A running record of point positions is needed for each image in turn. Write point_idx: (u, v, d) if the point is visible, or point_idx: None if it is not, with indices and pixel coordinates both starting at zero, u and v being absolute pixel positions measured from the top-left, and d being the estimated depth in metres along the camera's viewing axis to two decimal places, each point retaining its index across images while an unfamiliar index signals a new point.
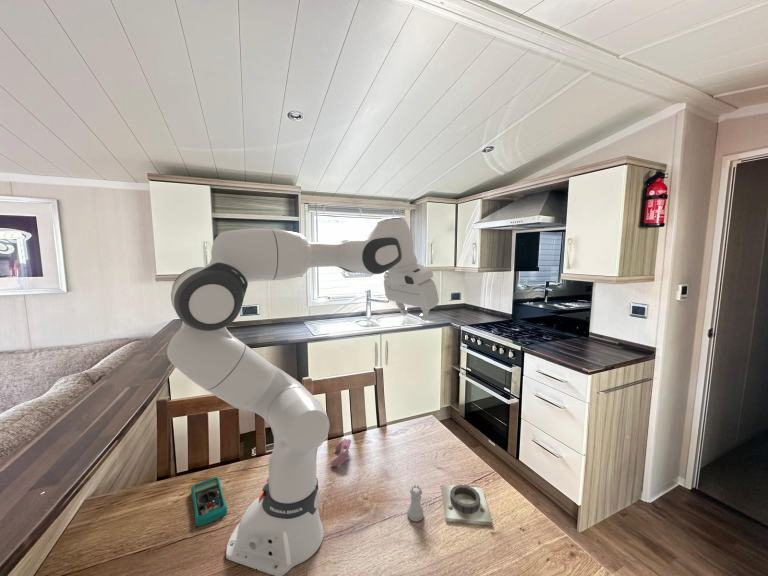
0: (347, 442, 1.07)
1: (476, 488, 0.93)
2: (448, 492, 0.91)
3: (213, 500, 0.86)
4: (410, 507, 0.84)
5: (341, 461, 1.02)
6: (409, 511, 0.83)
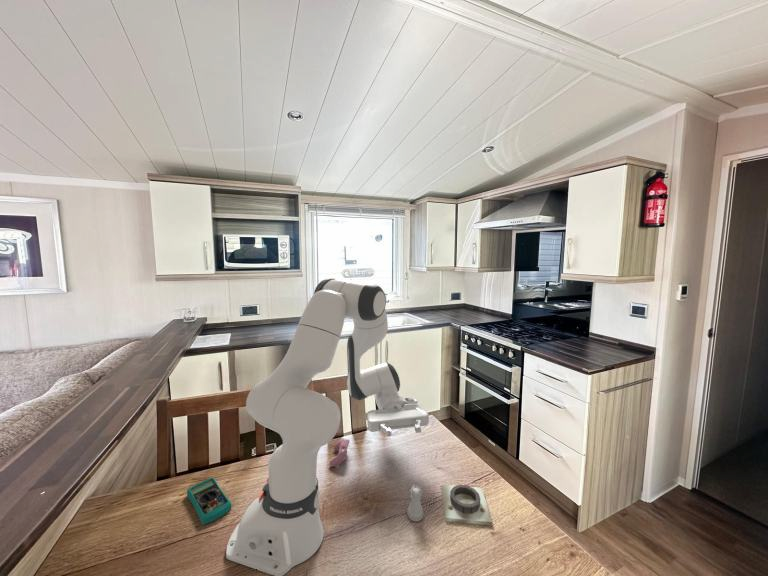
0: (345, 442, 1.07)
1: (476, 488, 0.93)
2: (448, 492, 0.91)
3: (215, 498, 0.86)
4: (410, 507, 0.84)
5: (339, 461, 1.02)
6: (409, 511, 0.83)
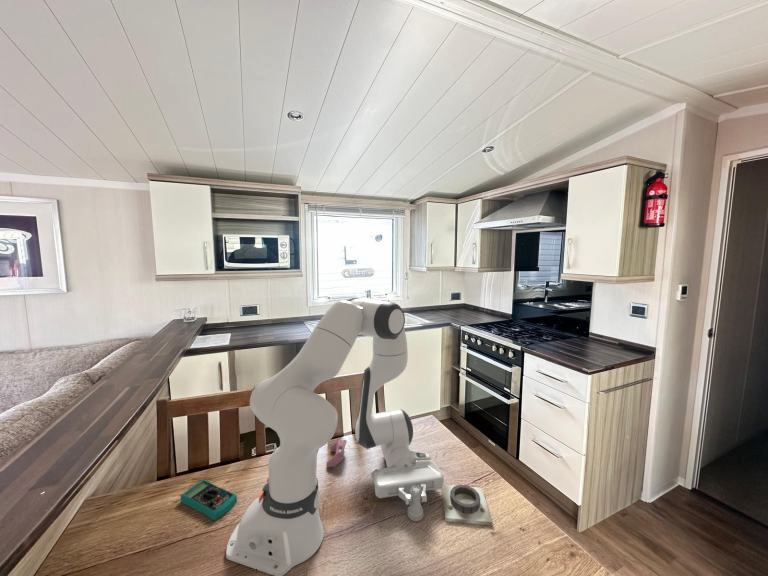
0: (342, 442, 1.07)
1: (476, 488, 0.93)
2: (448, 492, 0.91)
3: (218, 495, 0.87)
4: (410, 507, 0.84)
5: (337, 461, 1.02)
6: (409, 511, 0.83)
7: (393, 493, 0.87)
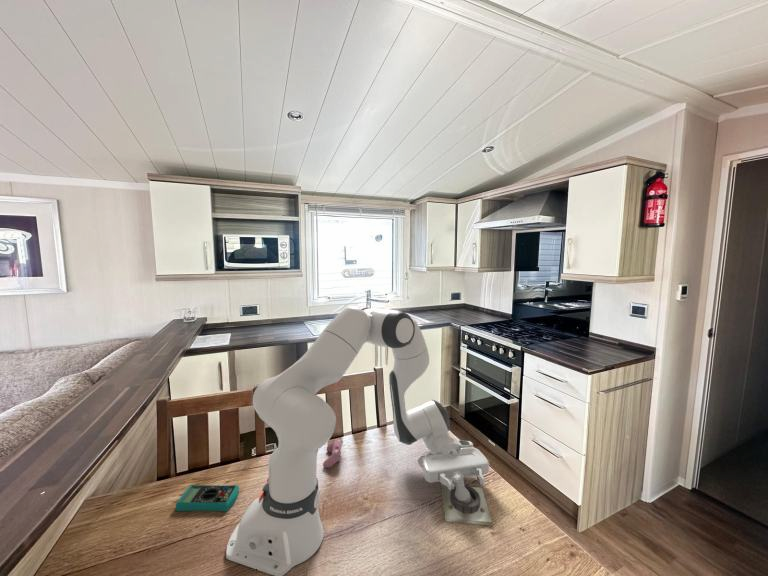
0: (339, 443, 1.07)
1: (476, 488, 0.93)
2: (448, 492, 0.91)
3: (219, 491, 0.89)
4: (456, 493, 0.87)
5: (333, 462, 1.02)
6: (456, 497, 0.87)
7: None
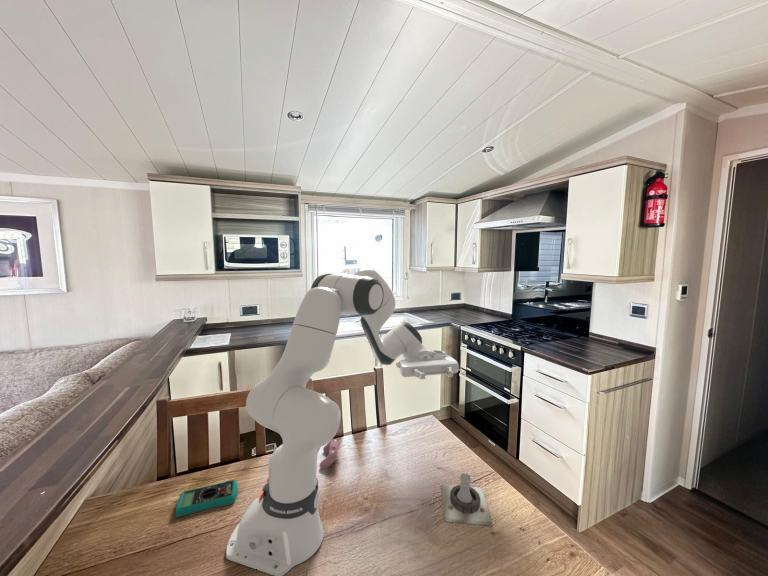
0: (335, 443, 1.06)
1: (476, 488, 0.93)
2: (448, 492, 0.91)
3: (218, 489, 0.90)
4: (460, 494, 0.87)
5: (330, 462, 1.02)
6: (459, 498, 0.87)
7: None
